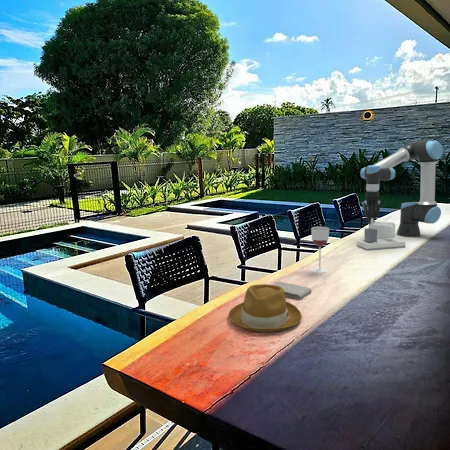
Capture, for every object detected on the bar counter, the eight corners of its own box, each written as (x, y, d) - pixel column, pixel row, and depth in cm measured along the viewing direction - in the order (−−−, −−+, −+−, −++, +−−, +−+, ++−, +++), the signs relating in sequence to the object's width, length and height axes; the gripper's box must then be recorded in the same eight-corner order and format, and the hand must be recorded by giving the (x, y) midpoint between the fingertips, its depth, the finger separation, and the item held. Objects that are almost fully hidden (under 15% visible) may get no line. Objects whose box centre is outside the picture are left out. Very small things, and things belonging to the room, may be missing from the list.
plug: (371, 244, 253) (372, 227, 251) (376, 246, 247) (377, 229, 245) (364, 244, 252) (364, 228, 250) (369, 246, 246) (369, 230, 244)
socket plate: (393, 243, 258) (393, 236, 257) (405, 247, 247) (405, 240, 246) (356, 246, 253) (356, 239, 253) (366, 250, 242) (367, 243, 241)
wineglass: (329, 268, 208) (329, 226, 204) (327, 273, 199) (328, 230, 195) (312, 267, 211) (312, 226, 207) (309, 272, 202) (310, 229, 198)
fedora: (217, 329, 140) (216, 298, 138) (243, 300, 166) (242, 273, 164) (292, 340, 130) (292, 306, 128) (307, 308, 157) (307, 279, 155)
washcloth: (276, 285, 185) (276, 279, 184) (312, 293, 174) (312, 286, 173) (263, 293, 175) (263, 286, 175) (300, 301, 165) (300, 294, 164)
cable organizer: (396, 239, 268) (396, 222, 266) (392, 242, 260) (393, 225, 258) (373, 237, 277) (373, 220, 275) (368, 240, 269) (369, 223, 267)
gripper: (378, 189, 248) (377, 226, 252) (359, 190, 246) (358, 228, 250) (385, 190, 241) (383, 229, 245) (365, 191, 239) (364, 230, 243)
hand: (370, 228), depth 248 cm, fingers closed
